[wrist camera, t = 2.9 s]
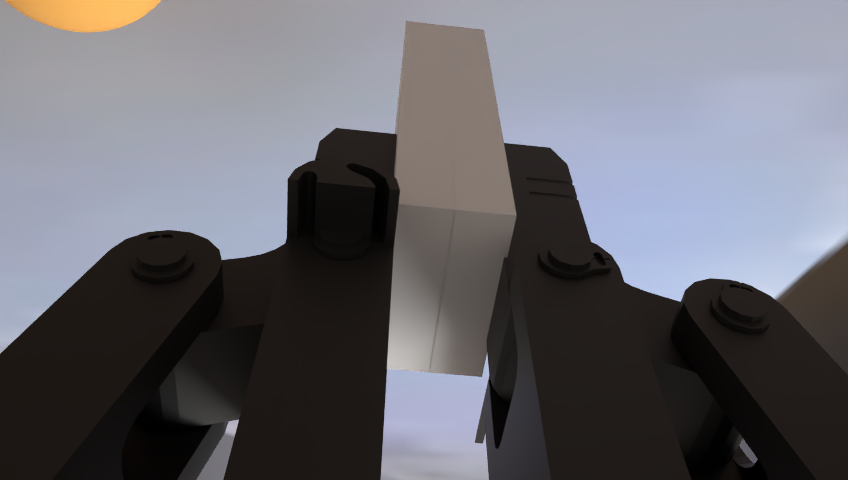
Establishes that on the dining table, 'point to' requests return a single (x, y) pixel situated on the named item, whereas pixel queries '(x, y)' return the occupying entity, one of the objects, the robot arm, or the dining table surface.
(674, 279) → the dining table surface
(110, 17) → the ball
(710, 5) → the dining table surface
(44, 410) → the robot arm
